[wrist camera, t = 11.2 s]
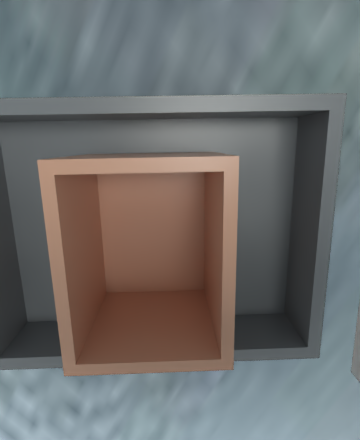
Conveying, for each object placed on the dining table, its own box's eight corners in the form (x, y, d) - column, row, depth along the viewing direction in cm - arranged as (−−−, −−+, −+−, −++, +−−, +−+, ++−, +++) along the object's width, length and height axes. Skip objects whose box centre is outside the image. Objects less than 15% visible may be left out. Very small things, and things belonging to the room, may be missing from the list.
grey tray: (289, 315, 24) (319, 357, 19) (24, 324, 24) (-14, 370, 19) (304, 105, 21) (346, 93, 16) (-9, 110, 20) (-67, 99, 15)
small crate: (211, 292, 22) (233, 369, 15) (101, 295, 22) (64, 376, 14) (212, 151, 20) (239, 156, 12) (88, 153, 20) (36, 159, 12)
